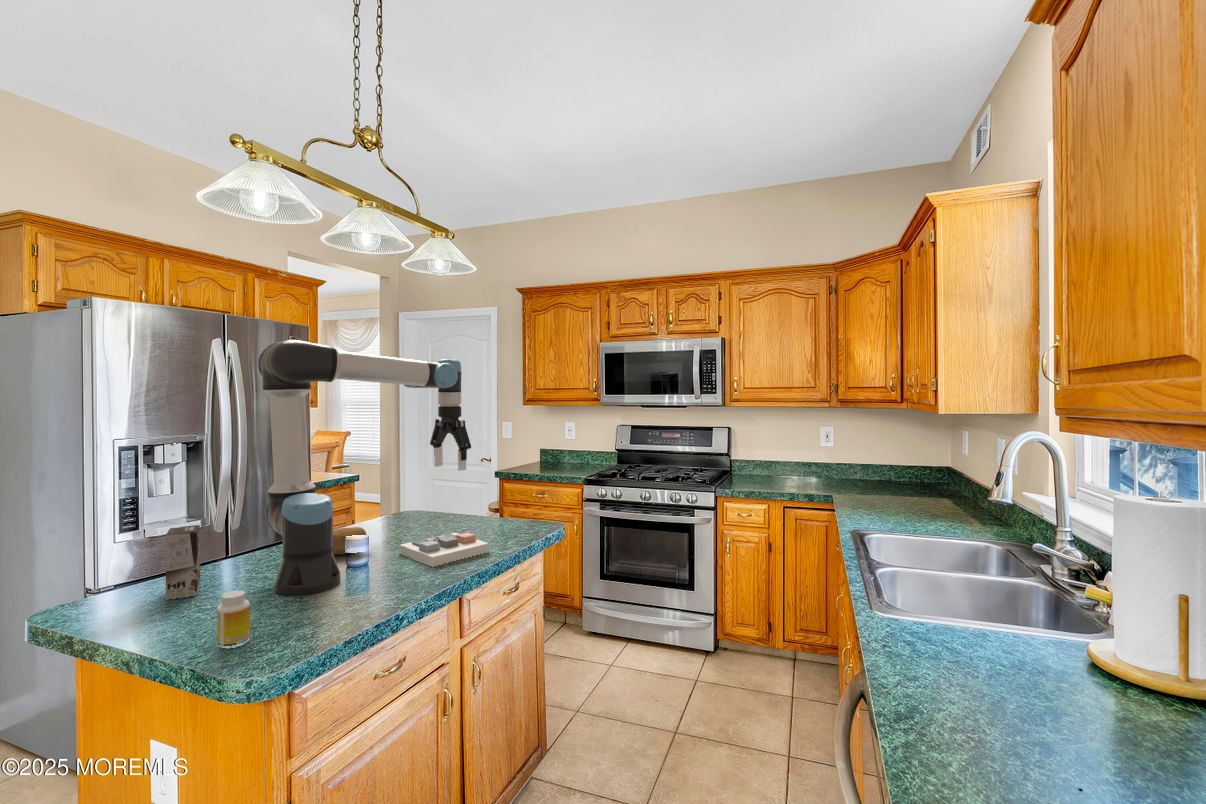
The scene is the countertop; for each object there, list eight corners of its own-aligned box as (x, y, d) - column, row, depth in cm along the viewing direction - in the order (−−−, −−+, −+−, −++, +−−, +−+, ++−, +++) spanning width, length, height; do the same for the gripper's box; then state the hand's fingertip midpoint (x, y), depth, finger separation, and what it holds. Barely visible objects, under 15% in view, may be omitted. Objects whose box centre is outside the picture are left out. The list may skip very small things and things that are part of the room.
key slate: (426, 555, 164) (426, 545, 164) (419, 552, 167) (419, 543, 167) (439, 552, 167) (439, 542, 167) (432, 549, 170) (432, 540, 170)
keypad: (432, 567, 160) (432, 553, 160) (399, 554, 172) (399, 541, 172) (488, 552, 175) (488, 539, 175) (454, 541, 187) (454, 529, 187)
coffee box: (197, 596, 137) (197, 531, 137) (164, 601, 133) (164, 535, 133) (201, 585, 145) (200, 524, 144) (170, 589, 141) (169, 527, 141)
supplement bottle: (256, 640, 113) (256, 590, 113) (231, 652, 108) (231, 600, 107) (236, 636, 115) (235, 587, 114) (210, 648, 109) (209, 597, 109)
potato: (317, 552, 174) (317, 527, 173) (365, 547, 180) (365, 523, 180) (316, 561, 165) (316, 534, 165) (367, 555, 171) (367, 529, 171)
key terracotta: (463, 546, 174) (463, 537, 174) (456, 544, 177) (456, 534, 177) (475, 543, 177) (475, 534, 177) (467, 541, 180) (467, 532, 180)
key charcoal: (445, 551, 169) (445, 541, 169) (438, 548, 172) (438, 538, 172) (458, 548, 172) (458, 538, 172) (450, 545, 175) (450, 536, 175)
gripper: (481, 406, 181) (482, 470, 181) (438, 404, 197) (438, 463, 197) (462, 406, 175) (462, 473, 175) (419, 404, 191) (419, 465, 191)
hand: (450, 468), depth 186 cm, fingers open, 13 cm apart
